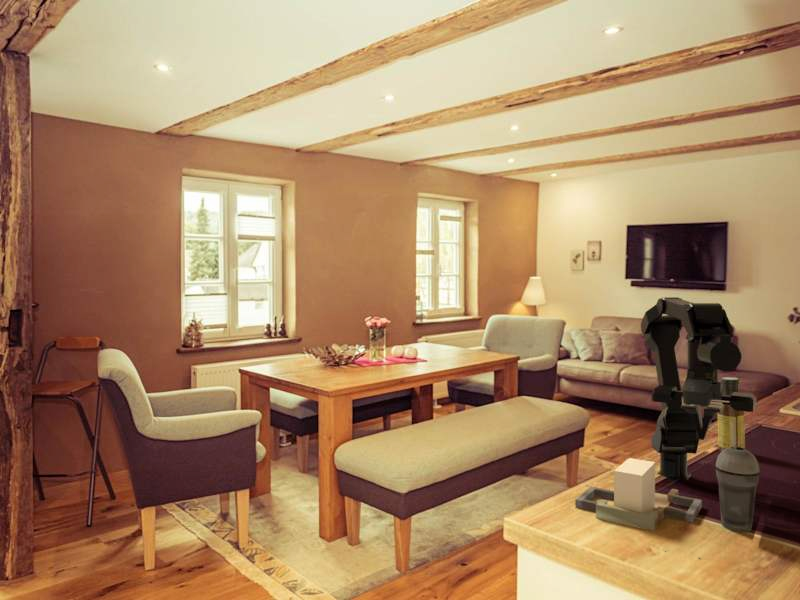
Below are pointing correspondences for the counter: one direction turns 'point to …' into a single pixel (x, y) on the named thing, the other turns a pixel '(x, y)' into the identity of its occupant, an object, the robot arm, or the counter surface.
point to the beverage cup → (737, 486)
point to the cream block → (635, 485)
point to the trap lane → (636, 517)
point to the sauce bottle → (730, 418)
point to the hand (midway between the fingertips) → (701, 439)
